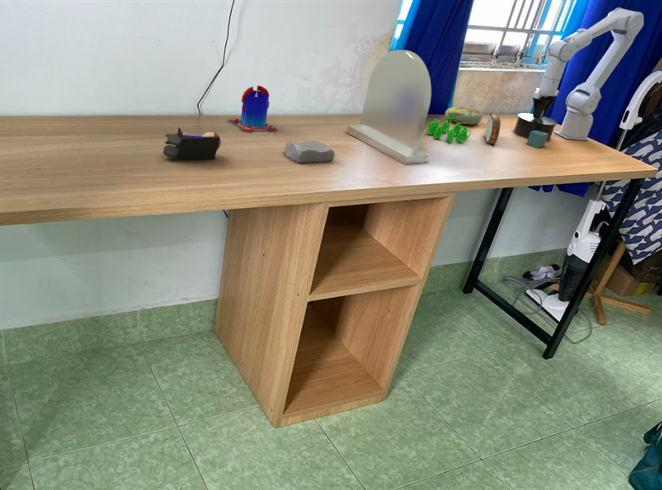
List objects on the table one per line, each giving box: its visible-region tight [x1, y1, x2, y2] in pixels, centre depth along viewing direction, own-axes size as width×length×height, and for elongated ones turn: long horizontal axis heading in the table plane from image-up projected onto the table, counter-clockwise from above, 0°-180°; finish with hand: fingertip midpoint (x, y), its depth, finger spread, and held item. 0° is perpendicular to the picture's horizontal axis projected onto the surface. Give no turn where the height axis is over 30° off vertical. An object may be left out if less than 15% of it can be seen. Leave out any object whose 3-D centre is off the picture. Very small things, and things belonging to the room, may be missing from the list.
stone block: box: [284, 141, 335, 164], centre depth 168 cm, size 12×5×10 cm
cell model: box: [444, 106, 484, 125], centre depth 223 cm, size 11×8×15 cm
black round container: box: [513, 117, 556, 142], centre depth 221 cm, size 13×13×5 cm
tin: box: [484, 112, 502, 145], centre depth 207 cm, size 15×3×8 cm, turn 168°
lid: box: [517, 110, 558, 127], centre depth 219 cm, size 14×14×5 cm
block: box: [526, 130, 548, 149], centre depth 210 cm, size 4×4×4 cm
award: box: [346, 49, 432, 165], centre depth 180 cm, size 28×9×28 cm, turn 32°
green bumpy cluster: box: [424, 116, 471, 144], centre depth 203 cm, size 15×15×7 cm
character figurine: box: [162, 127, 222, 161], centre depth 155 cm, size 8×7×15 cm
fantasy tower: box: [229, 85, 278, 133], centre depth 184 cm, size 12×12×12 cm
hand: (537, 117), depth 219 cm, fingers closed on lid, 2 cm apart
